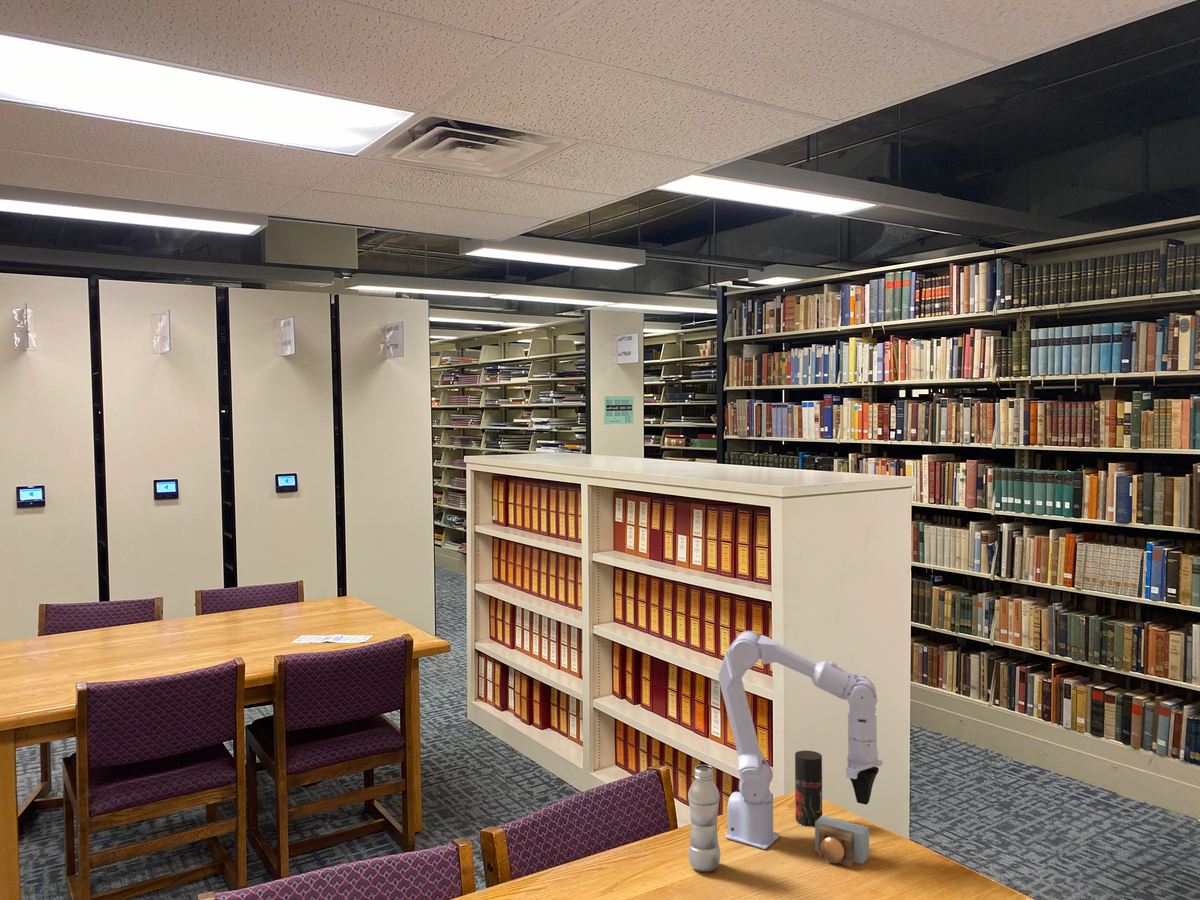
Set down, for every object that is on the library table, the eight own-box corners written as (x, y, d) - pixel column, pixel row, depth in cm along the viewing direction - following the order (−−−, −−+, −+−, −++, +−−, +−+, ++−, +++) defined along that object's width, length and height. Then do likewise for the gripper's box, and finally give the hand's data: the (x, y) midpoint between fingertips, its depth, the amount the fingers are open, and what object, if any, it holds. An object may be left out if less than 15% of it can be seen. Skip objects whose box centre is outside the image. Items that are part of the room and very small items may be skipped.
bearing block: (815, 850, 173) (815, 822, 173) (822, 843, 177) (821, 815, 177) (862, 864, 167) (862, 834, 168) (868, 856, 171) (868, 827, 171)
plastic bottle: (724, 863, 168) (724, 764, 168) (714, 878, 162) (714, 776, 162) (694, 857, 171) (693, 760, 171) (683, 872, 164) (683, 771, 165)
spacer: (819, 857, 170) (818, 828, 171) (822, 853, 172) (822, 824, 172) (850, 866, 167) (850, 836, 167) (853, 862, 168) (853, 833, 168)
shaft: (843, 866, 166) (842, 842, 166) (820, 859, 168) (819, 835, 169) (860, 845, 175) (860, 822, 175) (838, 839, 177) (838, 816, 177)
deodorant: (823, 827, 184) (822, 760, 184) (795, 825, 185) (795, 758, 186) (821, 816, 190) (821, 751, 190) (795, 814, 191) (794, 749, 191)
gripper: (870, 750, 165) (871, 819, 164) (892, 731, 176) (892, 795, 176) (835, 744, 169) (836, 810, 168) (859, 725, 180) (859, 788, 180)
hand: (862, 802), depth 173 cm, fingers closed
